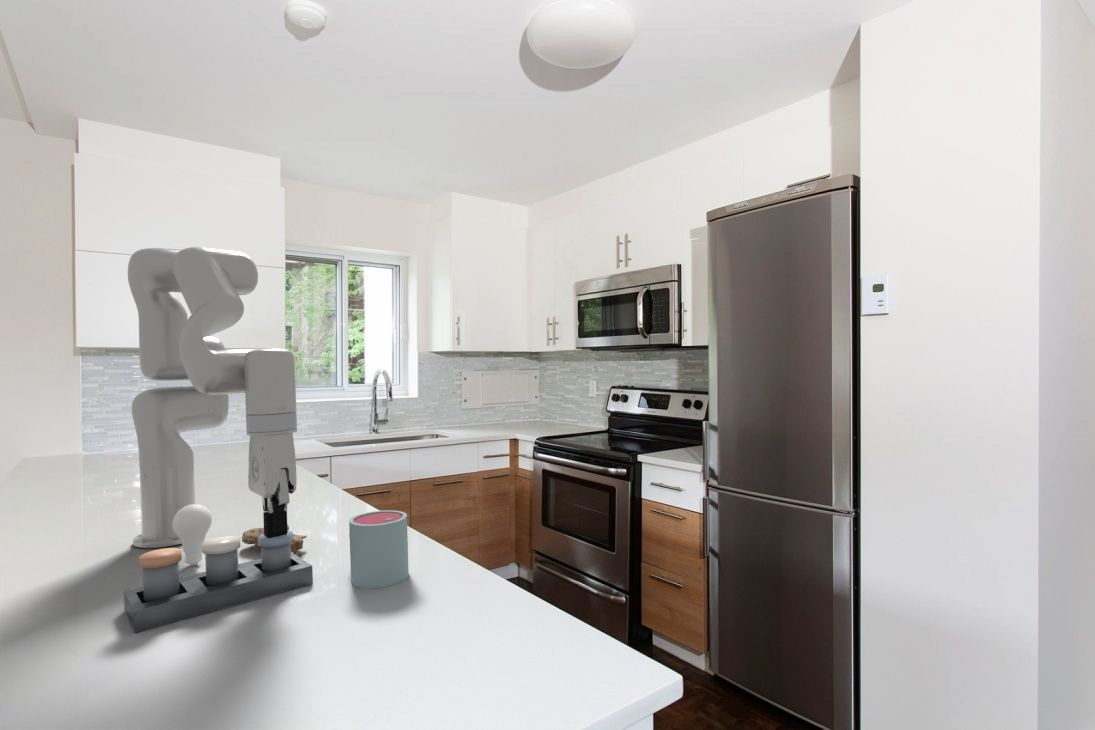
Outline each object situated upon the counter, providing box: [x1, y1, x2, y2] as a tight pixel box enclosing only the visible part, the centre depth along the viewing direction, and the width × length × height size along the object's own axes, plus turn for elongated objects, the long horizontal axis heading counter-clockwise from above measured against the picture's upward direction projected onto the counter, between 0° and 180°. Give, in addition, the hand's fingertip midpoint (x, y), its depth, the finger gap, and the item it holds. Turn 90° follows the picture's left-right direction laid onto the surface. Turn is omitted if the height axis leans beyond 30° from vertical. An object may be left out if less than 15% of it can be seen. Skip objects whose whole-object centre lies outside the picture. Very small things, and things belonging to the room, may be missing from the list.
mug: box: [348, 509, 409, 589], centre depth 100 cm, size 14×9×10 cm
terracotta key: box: [138, 547, 183, 602], centre depth 86 cm, size 5×5×6 cm
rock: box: [241, 523, 308, 556], centre depth 115 cm, size 17×5×10 cm
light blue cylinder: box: [258, 530, 294, 573], centre depth 97 cm, size 5×5×6 cm
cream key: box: [202, 535, 241, 586], centre depth 92 cm, size 5×5×6 cm
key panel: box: [123, 552, 314, 634], centre depth 92 cm, size 10×24×3 cm, turn 132°
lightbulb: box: [172, 503, 213, 567], centre depth 107 cm, size 6×6×11 cm
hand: (275, 535), depth 97 cm, fingers closed
